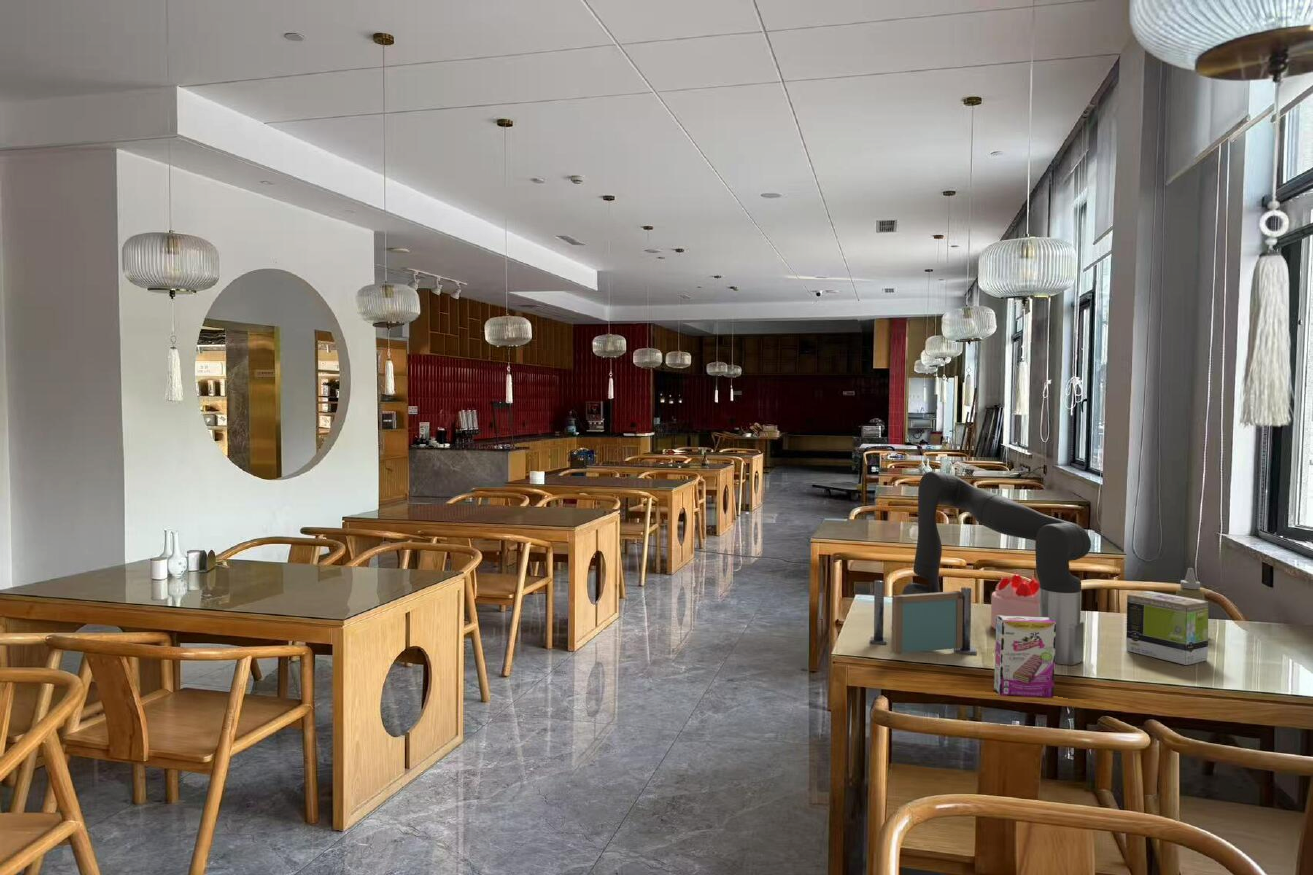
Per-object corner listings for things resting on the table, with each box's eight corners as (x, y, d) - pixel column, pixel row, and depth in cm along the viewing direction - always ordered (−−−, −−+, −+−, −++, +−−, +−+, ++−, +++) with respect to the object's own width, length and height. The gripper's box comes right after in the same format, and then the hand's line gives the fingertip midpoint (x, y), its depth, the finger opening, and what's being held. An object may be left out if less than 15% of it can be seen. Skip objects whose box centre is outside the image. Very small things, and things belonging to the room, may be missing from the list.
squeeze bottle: (1175, 636, 232) (1177, 569, 231) (1168, 629, 239) (1170, 564, 239) (1210, 639, 229) (1212, 571, 228) (1202, 631, 237) (1203, 566, 236)
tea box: (1208, 660, 209) (1210, 600, 209) (1185, 666, 204) (1187, 604, 204) (1147, 645, 222) (1148, 589, 222) (1124, 651, 217) (1125, 593, 217)
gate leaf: (957, 646, 217) (958, 591, 216) (962, 648, 215) (963, 592, 214) (891, 652, 211) (892, 595, 211) (895, 654, 209) (896, 597, 209)
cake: (987, 619, 250) (988, 570, 250) (1062, 623, 245) (1063, 574, 245) (994, 635, 232) (995, 583, 231) (1076, 641, 226) (1077, 587, 226)
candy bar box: (1000, 697, 182) (1001, 620, 181) (993, 689, 187) (994, 614, 186) (1055, 699, 181) (1057, 621, 180) (1047, 691, 186) (1048, 616, 185)
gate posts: (974, 647, 220) (975, 585, 219) (976, 654, 213) (977, 590, 213) (870, 639, 227) (871, 579, 226) (869, 646, 220) (870, 584, 220)
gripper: (897, 594, 232) (896, 609, 215) (948, 597, 228) (952, 613, 212) (896, 622, 232) (895, 638, 216) (948, 625, 228) (951, 643, 212)
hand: (923, 626), depth 214 cm, fingers closed
